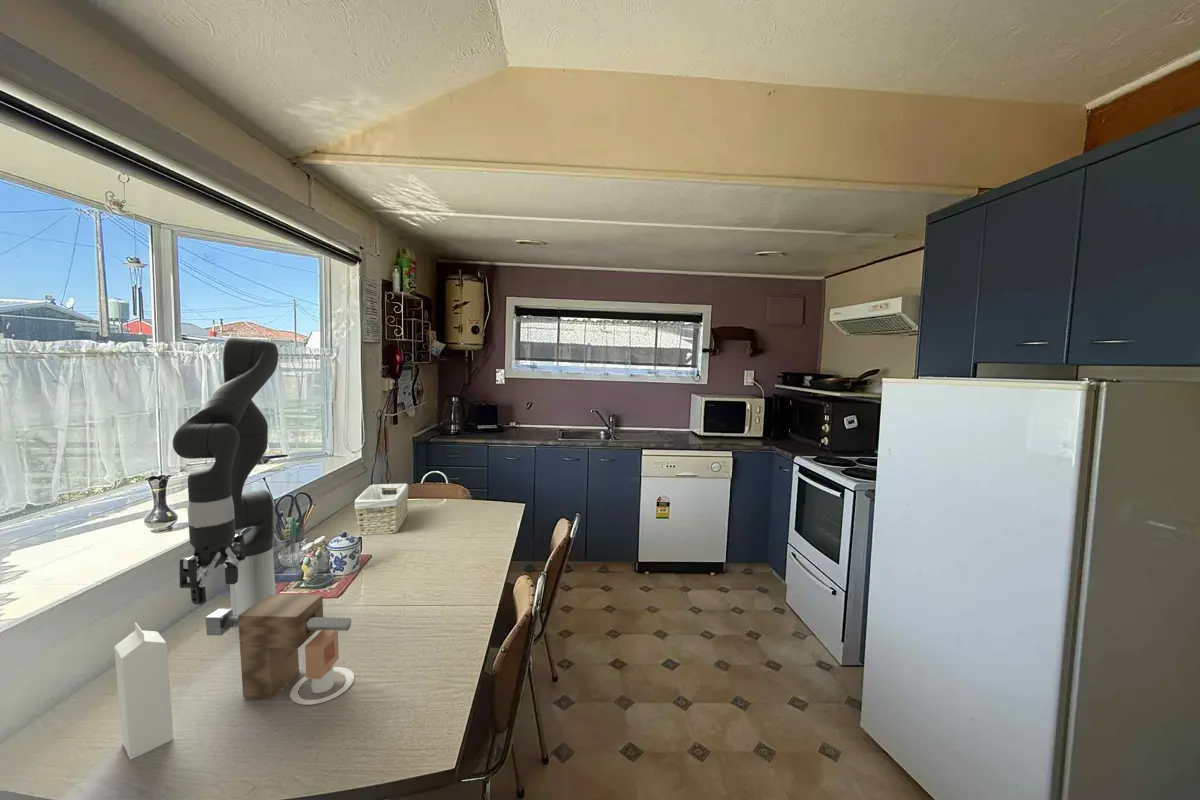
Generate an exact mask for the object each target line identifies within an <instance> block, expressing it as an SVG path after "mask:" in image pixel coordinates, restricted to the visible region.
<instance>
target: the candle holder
mask: <svg viewBox="0 0 1200 800" xmlns="http://www.w3.org/2000/svg"><path fill="white" fill-rule="evenodd" d="M335 674H341V675H343V676H344V677H345V683H344V684H343V686H342V687H341V688H340V689H339V690H337V691H336V692H334V693H333V694H330V695H327V696H325V697H322V698H317V699H304V698H302V697H301V696H300V695H298V689H299V687H300V686H301V685H302V684H303V683H304V682H305V681H307V680H308V679H306V675H305V676H303V677H302V678H300V679H299V680H298V681H297V682H296V683H295V684H294V685H293V686H292V688H291V689H290V693H289V695H290V699H291V701H292V702H294V703H295V704H298V705H303V706H304V705H305V706H309V705H310V706H311V705H318V704H321V703H325V702H328V701H331V700H332V699H336V698H337V697H338V696H340V695H342V694H343V693H344V692H346V691H347V690H348V689H349V688H350V687H351V686H352V685H353V683H354V680H355V675H354V672H353V671H352V669H349V668H347V667H343V666H334V665H333V666H332V667H331V668H330V669H329V670H328V671H327V672H326V673H325V675H324V676H323V677H322V678H321V679H310V681H311V682H310V683H311V691H312V692H313V693H315V694H321V692H322V693H325V692H328V691H329V690H331V689H332V688H333V687H334V685H335ZM308 681H309V680H308ZM308 681H307V682H308ZM305 683H306V682H305ZM305 683H304V684H305ZM304 684H303V685H304ZM303 685H302V686H303ZM302 686H301V687H302ZM299 690H300V689H299ZM300 697H301V698H300Z"/></svg>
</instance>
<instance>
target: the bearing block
mask: <svg viewBox="0 0 1200 800" xmlns="http://www.w3.org/2000/svg"><path fill="white" fill-rule="evenodd" d="M323 603H324V602H323V595H322V594H281V593H279V594H276V593H275V594H268V595H267V596H265V597H264V598H262V599H261V600H260V601H258V602H257V603H255V604H254V605H253V606H251V607H250V608H248V609H247V610H246V611H244V612H243V613H241V614H240V615H239V616H238V622H239V629H238V635H239V636H238V638H239V652H240V653H239V654H240V666H241V667H240V668H241V670H240V671H241V684H242V685H241V686H242V699H243V698H245V699H244V700H265V699H266V701H268V700H271V701H273V699H275V697H276V696H277V695H279V693H280V692H281V691H282V690H283V689H284V688H285V687H286V686H287V685H288V684H289V683H290V682H291V681H292V680H291V679H294V678H295V676H297V675H298V674H299V673H300V663H299V662H300V657H299V648H300V647H301V646H302V645H303V644H304V643H306V642H307V641H308V640H309V639H310V638H311V636H313V635H314V634H315V633H317V631H318V630H306V620H307V619H308V618H309V617H324V604H323ZM290 680H291V681H290ZM289 681H290V682H289ZM288 682H289V683H288ZM287 683H288V684H287ZM286 684H287V685H286ZM285 685H286V686H285ZM282 688H283V689H282ZM281 689H282V690H281Z"/></svg>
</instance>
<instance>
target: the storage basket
mask: <svg viewBox="0 0 1200 800" xmlns="http://www.w3.org/2000/svg"><path fill="white" fill-rule="evenodd" d="M383 491H396V494H383ZM408 497H409V484H408V483H380V484H370V485H369V486H367V488H366V489H364V490H363V491H362V493H361V494H359V495H358V496H357V498H356V499H355V500H354V510H355V512H356V513H355V515H356V520H357V526H358V533H359V535H360V536H367V535H368V536H369V535H370V536H371V535H386V534H387V535H390V534H395V533H397V532H398V531H399V529H400V528H401V527H402V525H403V523H404V522H405V520H406V518H407V516H408V515H409V514H408V502H409V501H408Z"/></svg>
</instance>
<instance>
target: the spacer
mask: <svg viewBox="0 0 1200 800" xmlns="http://www.w3.org/2000/svg"><path fill="white" fill-rule="evenodd" d="M339 650H340V649H339V631H332V630H320V632H318V633H317V634H316V635H315V636H314V637H313V638H312V639H311V640H310V641H309V642H308V643H307V644H306V645H305V646H304V653H305V655H304V656H305V676H306V679H310V680H311V679H321V678H322V677H323V676H324V675H325V673H326V672H327V671H328V670H329V669H330V668H331V667H332V666H333V667H334V665H335V663H336V662H338V660H339V658H340V657H339V656H340V653H339Z"/></svg>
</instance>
